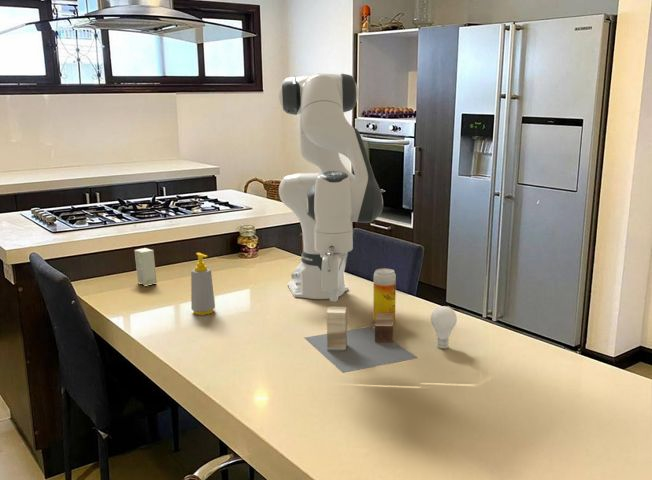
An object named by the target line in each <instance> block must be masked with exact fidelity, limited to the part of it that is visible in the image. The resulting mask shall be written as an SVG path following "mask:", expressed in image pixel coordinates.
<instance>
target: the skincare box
mask: <svg viewBox="0 0 652 480" xmlns="http://www.w3.org/2000/svg"><path fill="white" fill-rule="evenodd" d="M154 252H155V251H154V249H150V248H147V247H144V248H143V247H142V248H138V249H134V256H135V257H134V258H135V259H134V260H135V266H136V267H135V269H136V278H137V283H138V282H140V283H142V284H144V285H148V284H153V283H157V271H156V263H155V261H156V260H155V253H154ZM157 284H158V283H157Z"/></svg>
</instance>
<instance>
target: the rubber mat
mask: <svg viewBox="0 0 652 480" xmlns="http://www.w3.org/2000/svg"><path fill="white" fill-rule="evenodd" d="M304 339H305V340H306V341H307V342H308V343H309V344H310V345H311V346H312V347H314V349H316V350H317V351H318V352H319V353H320V354H321V355H323V357H324V358H326V359H327V360H328V361H329V362H330V363H331V364H332V365H334V366H335V368H337V369H338V370H339V371H340V372H341V373H342V374H343V373H349V372H354V371H359V370H364V369H368V368H374V367H379V366H384V365H388V364H389V365H390V364H393V363H394V364H395V363H399V362H404V361H409V360H414V359H419V357H418V356H417V355H415V354H414V353H412V352H411V351H409V350H408V349H406V348H404V347H403V346H401V345H400V344H398V342H396V341H394V340H393V343H377V342H375V326H374V327H373V326H372V325H370V326H365V327H364V326H363V327H359V328H354V329H353V328H352V329H347V347H346V352H345V351H327V333H324V334H317V335H312V336H306V337H304Z"/></svg>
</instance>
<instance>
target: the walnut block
mask: <svg viewBox="0 0 652 480" xmlns="http://www.w3.org/2000/svg"><path fill="white" fill-rule="evenodd" d="M374 328H375V342H377V343H393V341H394V340H393V339H394V336H393V335H394V334H393V333H394V322H393V313H376V321H374Z"/></svg>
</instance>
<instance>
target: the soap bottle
mask: <svg viewBox="0 0 652 480" xmlns="http://www.w3.org/2000/svg"><path fill="white" fill-rule="evenodd" d="M195 255H196V256H197V260H198V262H196V265H195V267H194V268H193V269H191V271H190V272H191V273H190V276H191V277H190V279H191V281H190V286H191V288H190V289H191V290H190V291H191V294H190V295H191V300H190V301H191V310H192V311H193V313H195V314H194V315H196V314H199V315H198V316H205V315H204V314H208V315H210V313H211V314H213V312H214V309H215V308H216V305H215V296H214V294H215V293H214V286H213V285H214V284H213V276H212V269H211V268H208V266H207V265H206V264H205V261H203V260H204V258H208V255H207V254H205V253H201V252H196V254H195Z"/></svg>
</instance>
